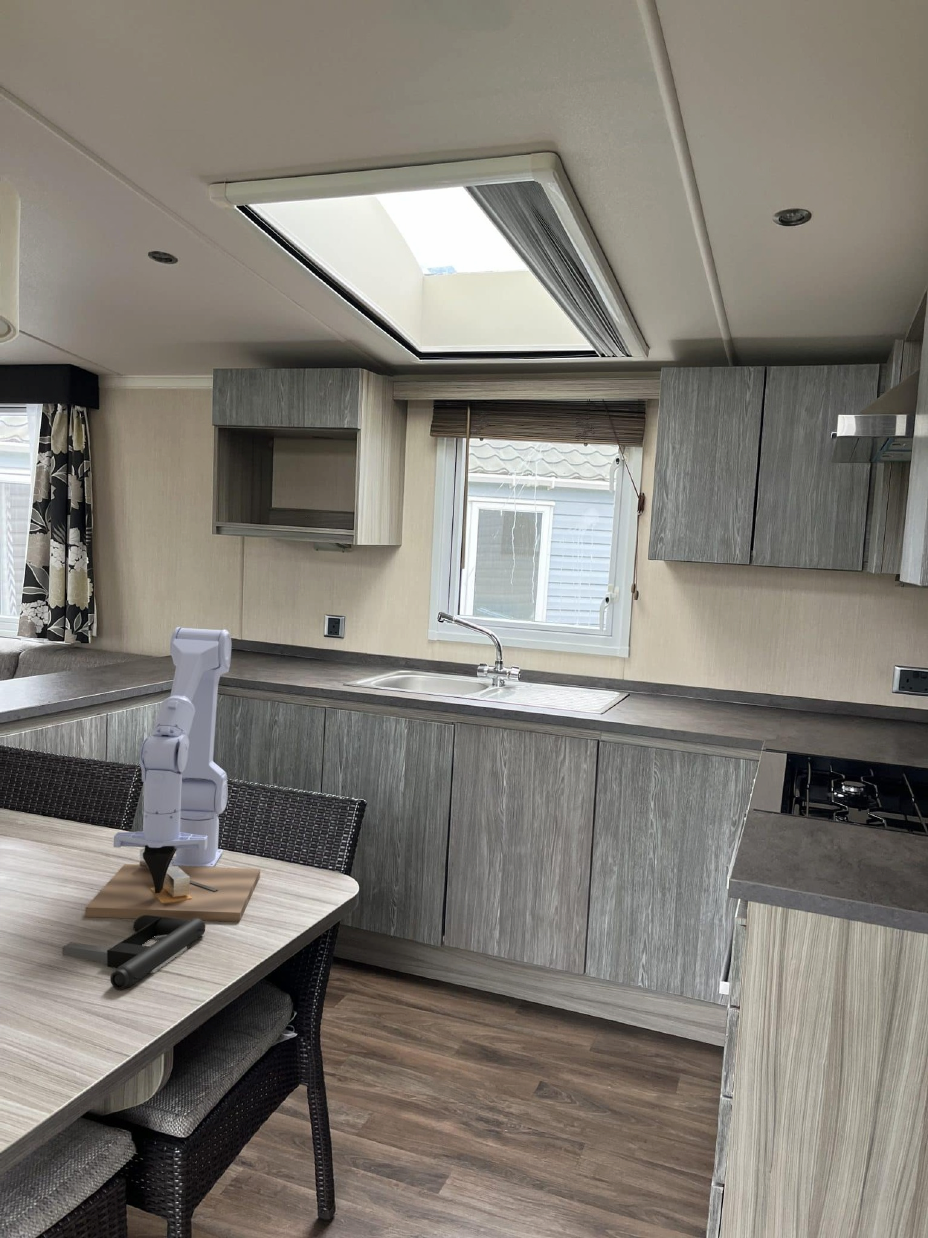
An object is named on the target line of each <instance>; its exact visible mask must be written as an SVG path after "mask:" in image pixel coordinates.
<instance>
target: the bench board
mask: <svg viewBox="0 0 928 1238" xmlns="http://www.w3.org/2000/svg"><path fill="white" fill-rule="evenodd" d="M178 867H179V868H180V869H181V870H182V871H184V872H185V873H186V874H187V875H188V876H189V877H190V887H189V895H183V896H177V897H173V896H172V895H171V894H170V893H169V892H168V891H167V890H166V889H165V888H164V887H163V889H162V891H161V892H160V893H155V887H154V882H153V878H152V875H151V872H150V870H149V868H143V867H141V866H140V865H139V864H137V863H134V864H133V863H132V864H131V863H124V864H123V865H122V866H121V868H120V869H119V870H118V871H117V872H116V873H115V874H114V875H113V876H112V877H111V878H110V880H109V881H108V882H107V883H106V884H105V885H104V886H103V887H102V888H101V889H100V891H99V892H98V893H97V894H95V896H94V897H93V899H92V900H90V902H89V903H88V904H87V905H86V906H85V907H84V908H85V909H84V910H85V913H84V914H85V915H84V916H85V917H86V918H116V919H138V918H139V917H141V916H143V915H150V916H158V917H167V918H175V919H183V920H191V919H194V918H199V919H201V920H202V921H203V922H205V921H207V922H208V921H209V922H232V923H233V922H234V923H235V922H236V923H239V922H241V920H242V918H243V915H244V913H245V910H246V908H247V906H248V905H249V903H250V900H251V898H252V896H253V893H254V891H255V890H256V887H257V884H258V882H259V880H260V878H261V868H250V867H249V868H245V867H244V868H243V867H221V866H220V867H218V866H217V867H215V866H214V867H194V866H178Z"/></svg>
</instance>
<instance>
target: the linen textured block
mask: <svg viewBox="0 0 928 1238" xmlns="http://www.w3.org/2000/svg"><path fill="white" fill-rule="evenodd" d="M144 850H145V847H143V848H142V849H140V850H139V862H138V863H139V865H140V866H141V867H143V868H148V866H147V864H146V862H145V860H144V859H143V853H144ZM163 887H164V888H165V889H166V890H167V891H168V892H169V893H170V894H171V895H172V896H173V897H177V896H183V895H189V887H190V877H189V876H188V875H187V874H186V873H185V872H184V871H182V870H181V869H180V868H179V867H178V866H173V865H172V864H170V865H169V867H168V870H167V872H166V876H165V879H164V883H163Z"/></svg>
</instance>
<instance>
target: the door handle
mask: <svg viewBox="0 0 928 1238" xmlns="http://www.w3.org/2000/svg"><path fill="white" fill-rule="evenodd" d="M132 928H133V930H134V932H135V933H133V934H131V935H130V936H128V937H127V938H125V939H123V940H122V941H120V942H118V943H116V944H114V946H112V947H109V946H101V945H94V944H86V943H78V942H71V941H70V942H68V943H67V944H64V945H63V946H62V955H63V956H66V957H71V958H75V959H80V960H86V961H90V962H94V963H95V962H96V963H100V964H104V963H105V964H104V965H107V967H108V968H112V969H113V968H114V969H115V971H113V972H112V973H111V975H110V984H111V985H112V987H113V988H114V989H116V990H119V991H120V990H123V989H127V988H130V987H131V986H133V985H134V984H135V983H136V982H139V981H140V980H141V979H142V978H144V977H146V976H147V975H148V974H149V973H150V974H155V973H157V971H159V970H160V969H161V967H162V966H163V967H164V966H166V965H167V964H169V963H170V962H172V961H174V959H176V958H177V957H179V956H180V955H181V954H182V953H184V952H186V951H187V950H188V946H189V945H191V944H193V943H194V942H195V941H196V940H198V939H200V938H205V936H203V935H204V934H205V932H206V924H205V921H202V920H201V919H199V918H194V919H191V920H183V919H175V918H167V917H158V916H150V915H143V916H141V917H139V918H135V920H134V922H133V925H132ZM156 935H157V936H156ZM154 936H155V937H154ZM152 937H154V941H155V943H153V944H151V945H150V946H149V945H145V944H146V943H148V942H149V941H151V940H152V939H153V938H152ZM150 939H151V940H150ZM148 940H149V941H148ZM147 941H148V942H147ZM145 942H146V943H145ZM183 951H184V952H183ZM179 954H180V955H179ZM175 957H176V958H175ZM168 962H169V963H168ZM166 963H167V964H166ZM163 967H162V968H163Z"/></svg>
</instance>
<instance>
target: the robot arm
mask: <svg viewBox="0 0 928 1238" xmlns="http://www.w3.org/2000/svg"><path fill="white" fill-rule="evenodd" d="M232 646H233V645H232V637H231V634H230V632H229V630H227V629H222V630H221V629H204V628H191V627H190V628H187V627H182V626H177V627H176V628H175V629H174V630H173V631H172V633H171V636H170V642H169V650H170V651H169V652H170V656H171V658H172V663H173V665H174V666H175V670H174V676H173V679H172V680H173V681H172V687H171V692H170V696H168V697H167V698H165V699H164V700H162V701H161V703H160V706H159V710H158V712H157V716H156V719H155V722H154V725H153V728H152V732H151V734H150V735H149V737H148V738H147V737H146V738H144V740H143V741H142V744H141V747H140V751H139V752H140V755H139V766H140V769H141V782H142V783H143V784H144V787H143V788H144V792H143V793H144V794H143V795H144V796H143V818H142V819H143V821H142V830H141V831H128V832H127V831H123V832H121V831H118V832H116V833H115V834H114V836H113V848H122V847H131V848H132V847H133V848H145V850H144V853H143V859H144V860H145V862H146V864H147V866H148V868H149V870H150V872H151V875H152V878H153V882H154V887H155V893H160V892H161V891H162V889H163V883H164V879H165V876H166V872H167V870H168V867H169V865H170V864H172V865H173V866H194V867H215V866H216V864H217V862H218V860H219V859H220V858H221V856H222V854H223V853H224V850H223V849H221V848H220V849H219V833H220V832H219V831H220V828H219V827H220V826H219V825H220V820H219V815H221V814H223V812H225V809H226V807H227V803H228V797H229V796H228V795H229V790H228V774H227V772H226V771H225V770H224V769H223V768H221V767H220V766H219V765H218V764H216V762H214V749H215V734H216V719H217V708H218V707H217V706H218V704H217V703H218V691H219V690H218V688H219V682H220V679H221V675H222V676H223V675H225V674H227V673H229V670H230V668H231V661H232V660H231V659H232Z"/></svg>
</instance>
